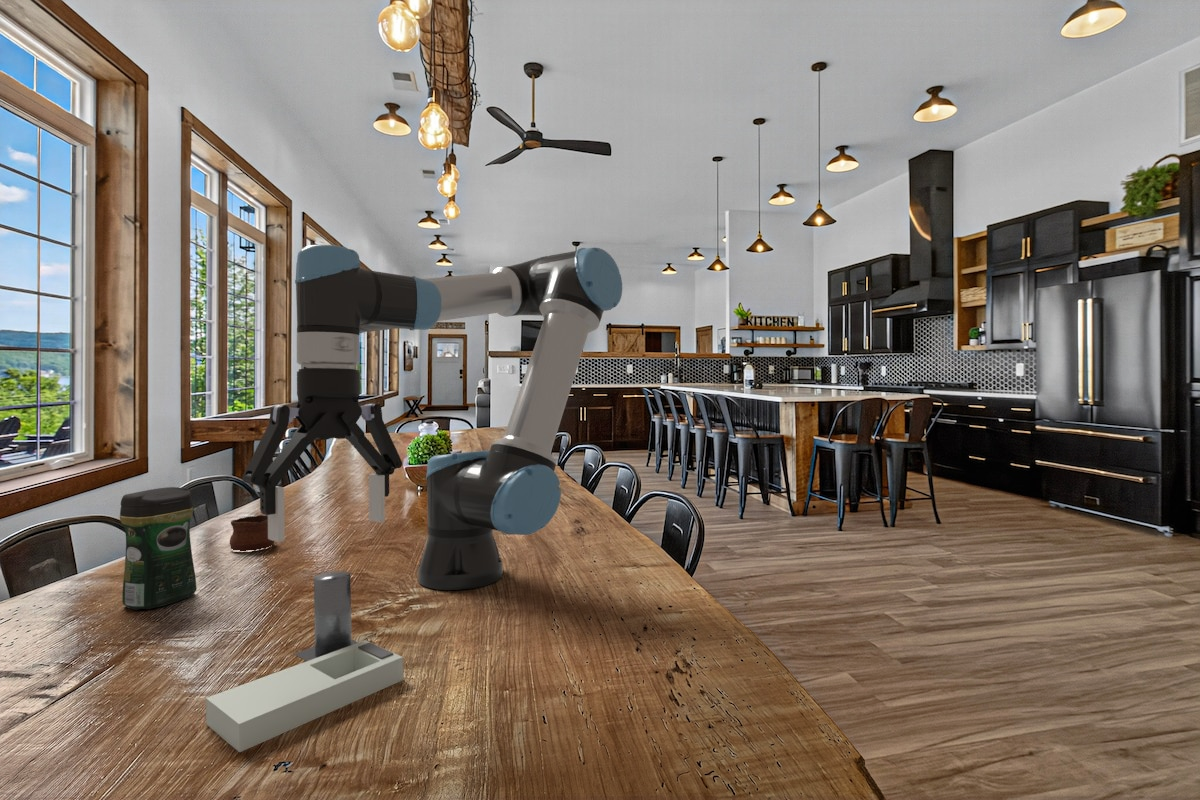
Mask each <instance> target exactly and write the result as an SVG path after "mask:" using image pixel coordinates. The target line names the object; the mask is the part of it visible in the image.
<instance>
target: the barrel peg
mask: <svg viewBox="0 0 1200 800" xmlns="http://www.w3.org/2000/svg"><path fill="white" fill-rule="evenodd" d="M351 575H352V574H351V572H349V571H345V570H332V571H328V572H322V573H320V574H316V575H314V577H313V597H314V598H313V603H314V604H313V605H314V609H313V610H314V647H315V656H316V657H317V658H318V657H320V656H323V655H326V654H329V653H331V652H334V651H337V650H340V649H342V648H345V647H348V646H351V645H352V642H351V639H352V596H351V595H352V589H351V587H352V585H351V584H352V583H351V581H352V580H351V577H352V576H351Z"/></svg>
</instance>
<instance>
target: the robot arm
mask: <svg viewBox="0 0 1200 800" xmlns="http://www.w3.org/2000/svg"><path fill="white" fill-rule="evenodd" d="M622 280H623V279H622V275H621V272H620V269H619V266H618V264H617V262H616V261H615V259H614V258H613V257H612V255H611V254H610V253H609V252H607V251H606V250H604V249H603V248H600V247H588V248H585V247H580V248H578V249H577V250H573V251H568V252H562V253H558V254H557V253H556V254H552V255H551V254H550V255H545V256H541V257H537V258H534V259H530V260H527V261H524V262H521V263H518V264H517V263H516V264H513V265H508V266H499V267H496V268H495V269H494V270H493V271H492V272H486V273H478V274H477V273H476V274H466V275H463V274H462V275H453V276H450V275H449V276H442V277H428V278H426V277H425V278H420V277H416V276H415V275H412V276H410V275H409V276H408V275H401V274H397V273H388V272H382V271H376V270H370V269H366V268H364V267H363V268H362V264H361V261H360V256H359V253H357V251H355V250H354V249H351V248H348V247H346V246H339V245H332V244H311V245H306V246H304V247H302V248H301V249H299V251H298V253H297V260H296V266H295V279H294V284H295V291H296V292H295V294H296V298H295V299H296V300H295V301H296V363H297V364H298V365H300V366H301V368H299V369H298V371H296V396H297V405H296V406H295V407H289V406H287V405H286V404H285V405H281V404H280V405H279V404H277V405H276V404H273V405H272V406H271V408H270V413H269V414H270V415H269V420H268V421H269V423H268V425H267V427H266V429H265V431H264V432H263V434H262V436H261V439H260V441H259V443H258V445H257V447H256V449H255V451H254V452H253V455H252V457H251V459H250V461H249V462H248V464H247V466H246V469H244V473H243V474H242V476H241V477H242V478H241V479H242V481H243V483H246V484H251V485H254V486H257V487H258V488H259V501H260V502H259V510H260V513H261V515H268V539H269V540H272V541H274V543H275V542H276V543H281V542H285V541H286V539H285V533H286V531H285V487H284V486H278V484H279V483H280V482H281V481H282V479H283V478H284V477H285V475H286V474H287V473H288V472H289V470H291V468H292V467H293V466H294V464H295V463H296V461H297V460H298V459H299V458H300V457H301V455H302V454H303V453H304V452H305V450H306V449H307V448H308V447H309V446H310V445H311V444H313V443H314V441H316V440H320V441H321V440H322V441H325V440H330V439H336V440H337V439H338V440H339V439H341V440H342V439H345V440H347V441H348V442H349V443H350V444H351V445H352V447H354V449H355V450H356V451H357V452H358V453H359V455H360V456H361V457H362V458H363V460H365V462H366V463H367V464H368V465H369V467H370V468H371V469H372V470H373V472H375V473H369V474H368V520H369V521H371V522H374V523H378V524H381V523H385V522H386V511H385V510H386V506H385V505H386V504H385V503H386V502H385V501H386V499H385V498H386V497H389V495H390V475H393V474H394V473H395V470H396V469H400V468H402V466H403V460H402V459H401V456H400V455H399V452H398V450H397V448H396V445H395V444H394V441H393V439H392V437H391V435H390V432H389V430H388V429H387V427H386V424H385V422H384V420H383V410H382V406H381V404H380V403H366V404H364V405H360V402H359V398H360V395H361V372H360V371H359V370H358V369H356V367H355V366H358V365H360V352H361V351H360V335H361V333H367V332H377V331H386V330H387V331H388V330H394V329H399V330H400V329H402V330H403V329H404V330H410V331H415V330H416V331H417V330H420V331H421V330H422V331H423V330H424V331H425V330H429V329H431V328H433V327H435V325H436V324H437V322H443V321H448V320H450V321H451V320H456V319H457V320H458V319H461V318H462V319H465V318H472V317H478V316H483V315H484V316H485V315H492V314H498V315H499V316H502V317H505V318H509V317H515V316H516V317H517V316H540V317H541V316H542V317H543V321H542V324H541V327H540V329H539V333H538V336H537V339H536V342H535V344H534V347H533V350H532V353H531V355H530V359H529V362H528V365H527V368H526V371H525V374H524V376H523V379H522V383H521V386H520V388H519V391H518V394H517V398H516V400H515V403H514V406H513V409H512V411H511V415H510V417H509V421H508V424H507V427H506V429H505V433H504V435H503V436H502V438H499V439H498V440H496V441H494V442H492V443H491V447H490V449H484V450H478V451H477V450H475V451H474V450H473V451H465V452H456V453H448V454H438V455H432V456H431V457H430V458H429V460H428V461H427V466H426V475H425V480H426V499H427V500H426V501H427V502H426V504H427V505H426V506H427V508H426V509H427V510H426V511H427V539H426V542H425V546H424V549H423V553H422V555H421V556H422V557H421V560H420V563H419V565H418V569H417V579H418V580H417V582H418V583H419V584H420V585H421V586H423V587H425V588H428V589H432V590H433V589H434V590H441V591H459V590H470V589H476V588H481V587H484V586H485V587H486V586H489V585H491V584H493V583H496V582H497V581H499V580H501V578H502V577H503V573H504V571H503V560H502V558H501V557H500V556H501V555H500V552H499V550H498V546H497V543H496V540H495V536H494V533H493V530H494V531H498V532H500V533H503V534H505V535H519V536H527V535H532V534H535V533H537V532H538V531H540V530H541V529H544V528H545V527H546V526H547V525H548V524H549V523H550V521H551V520H552V519H553V518H554V516H555V515H556V513H557V511H558V508H559V506H560V502H561V496H562V489H561V488H560V487H559V486H560V483H561V482H560V478H559V476H558V475H557V473H556V472H555V469H556V466H557V462H556V461H555V458H554V456H553V454H552V450H553V447H554V444H555V440H556V438H557V434H558V432H559V428H560V425H561V421H562V417H563V415H564V412H565V408H566V406H567V402H568V399H569V396H570V392H571V388H572V386H573V382H574V381H575V376H576V374H577V369H578V366H579V364H580V360H581V358H582V357H581V356H582V353H583V351H584V347H585V344H586V341H587V338H588V335H589V333H592V332H593V331H596V330H597V329H598V328H599V327H600V323H601V320H602V317H603V313H604V311H605V312H607V311H611V310H612V309H614V308H616V307H617V306H618V305H619V303H620V301H621V299H622V295H623V281H622ZM294 418H295V419H296V420H297V421H298V423H299V424H300V425H299V427H297V428H296V430H295V432H294V433H292V435H291V439H290V440H289V441H288V442H287V444H286V445H285V446H284V448H282V450H281V451H280V452H279V454H278V455H277V456H276V458H274V456H275V454H276V453H277V450H278V448H279V446H280V444H281V442H282V440H283V438H284V436H285V434H286V432H287V430H288V426H289V425H290V424H292V422H293V420H294ZM360 418H362V419H363V420H364V422H365V424H366V426H367V429H368V430H369V433H370V435H371V436H372V440H373V441H374V443H375V446H376V447H377V448H375V446H374V445H373V443H371V441H370V440H369V438H367V437H366V435H365V431H363V429H362V428H361V427H360V425H359V424H358V423H357V422H358V421H359V419H360ZM273 458H274V460H273ZM272 460H273V461H272Z"/></svg>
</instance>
